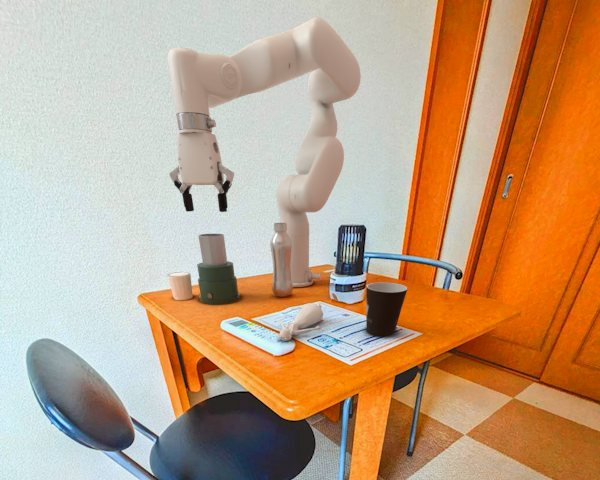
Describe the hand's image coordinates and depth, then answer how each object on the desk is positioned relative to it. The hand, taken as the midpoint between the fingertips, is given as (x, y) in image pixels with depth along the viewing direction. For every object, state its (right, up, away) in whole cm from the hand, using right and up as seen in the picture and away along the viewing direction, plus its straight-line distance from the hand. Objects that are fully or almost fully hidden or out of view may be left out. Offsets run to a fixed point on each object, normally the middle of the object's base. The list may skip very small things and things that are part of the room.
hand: (206, 211), depth 83 cm
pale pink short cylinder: (-11, -18, +14) cm, 26 cm away
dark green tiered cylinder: (0, -19, +13) cm, 23 cm away
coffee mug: (+45, -34, -9) cm, 57 cm away
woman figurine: (+25, -34, -9) cm, 43 cm away
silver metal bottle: (+20, -18, +15) cm, 30 cm away
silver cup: (0, -11, +7) cm, 13 cm away
